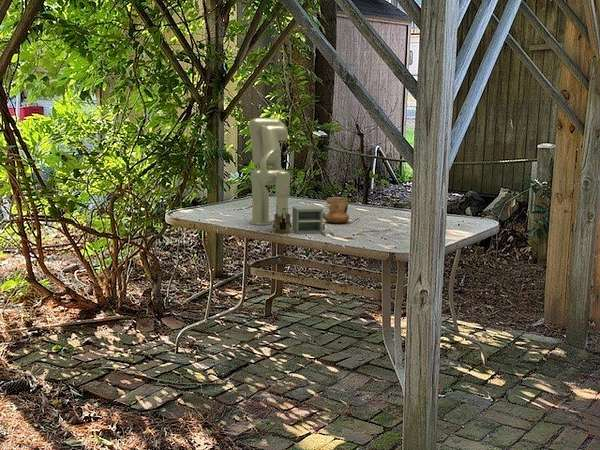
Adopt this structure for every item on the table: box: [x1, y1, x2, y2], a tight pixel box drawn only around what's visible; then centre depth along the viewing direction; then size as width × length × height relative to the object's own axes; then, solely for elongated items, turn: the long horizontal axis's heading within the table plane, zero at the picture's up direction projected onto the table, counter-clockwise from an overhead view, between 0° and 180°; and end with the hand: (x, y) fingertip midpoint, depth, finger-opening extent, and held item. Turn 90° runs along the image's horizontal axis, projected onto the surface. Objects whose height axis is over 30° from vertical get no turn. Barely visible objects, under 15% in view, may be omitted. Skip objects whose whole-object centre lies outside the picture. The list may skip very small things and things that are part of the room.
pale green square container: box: [291, 205, 335, 237], centre depth 407 cm, size 22×18×13 cm
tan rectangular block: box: [273, 213, 291, 234], centre depth 406 cm, size 4×8×10 cm, turn 101°
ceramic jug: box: [324, 196, 350, 225], centre depth 444 cm, size 18×14×14 cm
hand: (282, 228), depth 407 cm, fingers closed on tan rectangular block, 3 cm apart
